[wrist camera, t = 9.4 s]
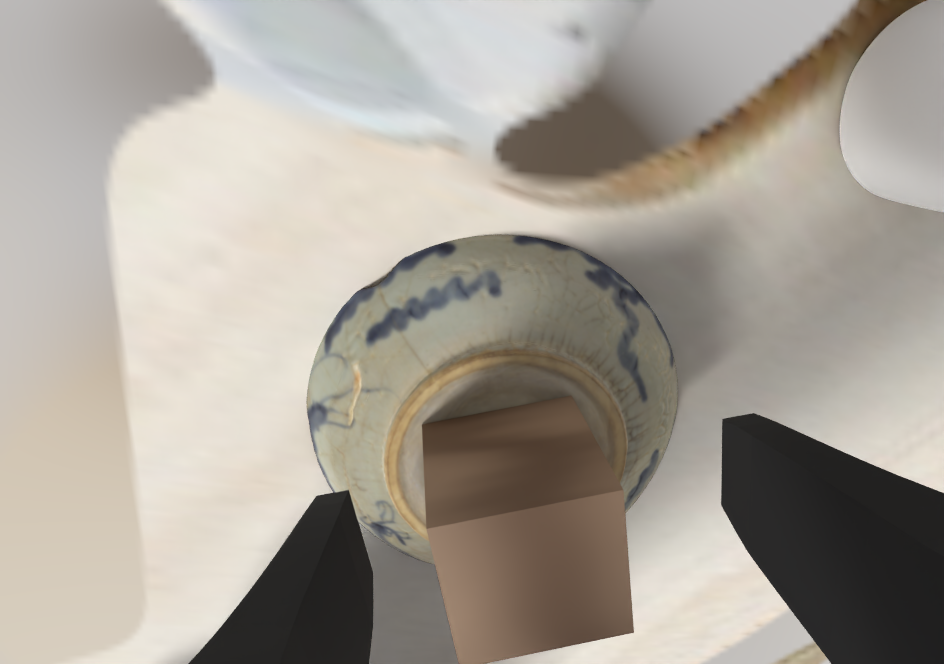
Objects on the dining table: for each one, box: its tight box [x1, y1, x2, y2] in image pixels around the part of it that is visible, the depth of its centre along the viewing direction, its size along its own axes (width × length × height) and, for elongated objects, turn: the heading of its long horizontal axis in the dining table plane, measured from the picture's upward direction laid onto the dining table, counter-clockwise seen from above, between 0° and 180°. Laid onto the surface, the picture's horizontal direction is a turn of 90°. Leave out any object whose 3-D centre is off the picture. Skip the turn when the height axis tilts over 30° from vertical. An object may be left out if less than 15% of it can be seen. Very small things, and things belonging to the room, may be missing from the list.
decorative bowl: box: [307, 235, 678, 565], centre depth 22 cm, size 15×4×15 cm
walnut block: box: [422, 396, 634, 664], centre depth 18 cm, size 5×5×5 cm
